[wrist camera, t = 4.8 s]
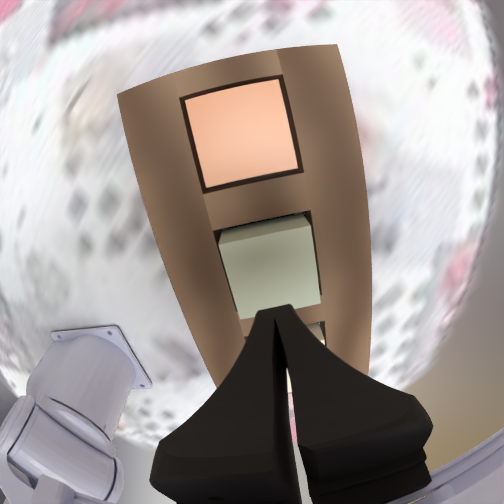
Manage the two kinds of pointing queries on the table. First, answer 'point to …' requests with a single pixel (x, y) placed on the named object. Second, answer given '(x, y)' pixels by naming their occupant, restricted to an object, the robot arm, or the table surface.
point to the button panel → (258, 197)
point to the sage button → (271, 264)
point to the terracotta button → (241, 132)
